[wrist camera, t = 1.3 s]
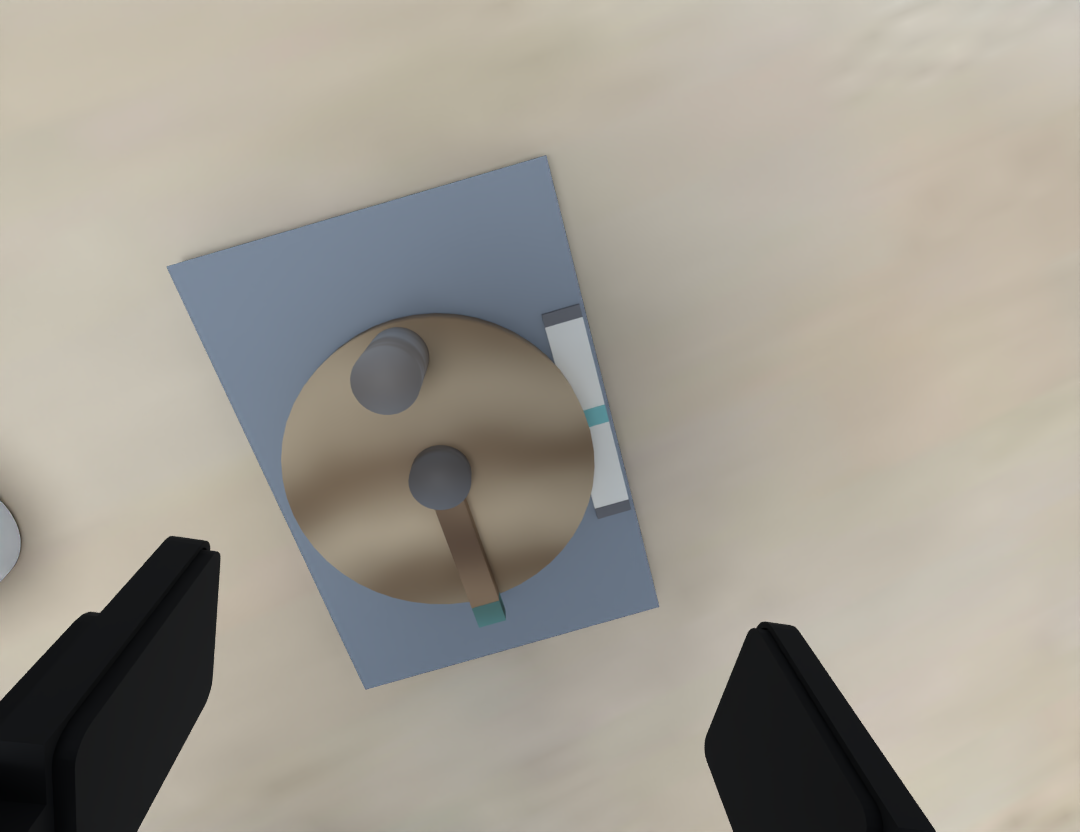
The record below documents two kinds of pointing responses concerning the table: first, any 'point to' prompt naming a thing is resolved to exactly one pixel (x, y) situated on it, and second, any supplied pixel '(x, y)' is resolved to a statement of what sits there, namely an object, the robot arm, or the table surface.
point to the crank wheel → (438, 461)
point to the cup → (8, 541)
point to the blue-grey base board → (411, 289)
